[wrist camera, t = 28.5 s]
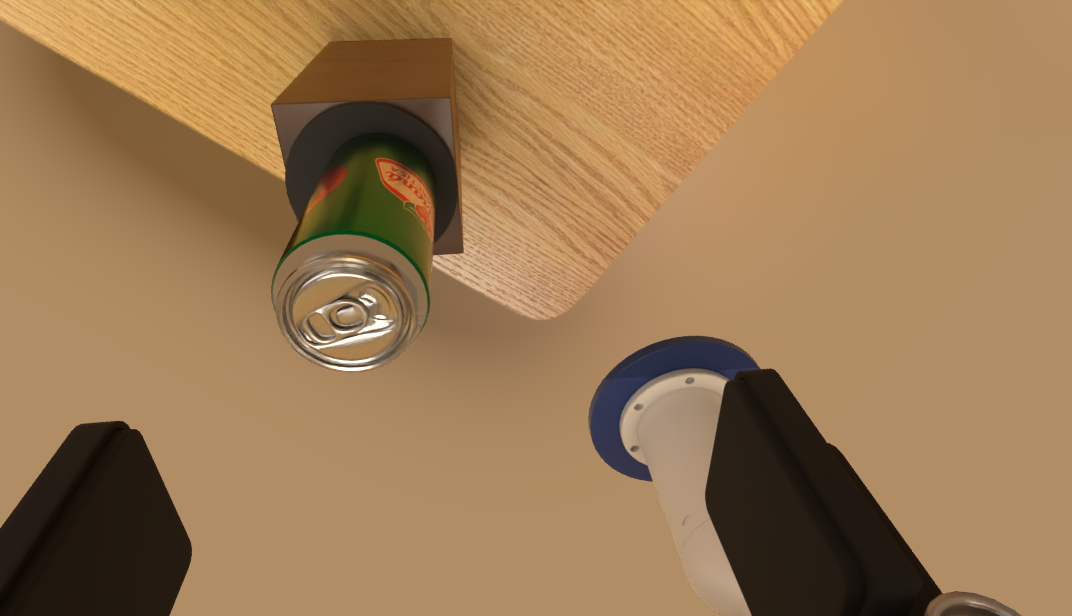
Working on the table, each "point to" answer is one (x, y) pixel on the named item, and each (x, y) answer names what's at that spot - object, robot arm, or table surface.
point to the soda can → (360, 257)
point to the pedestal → (380, 96)
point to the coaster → (360, 119)
